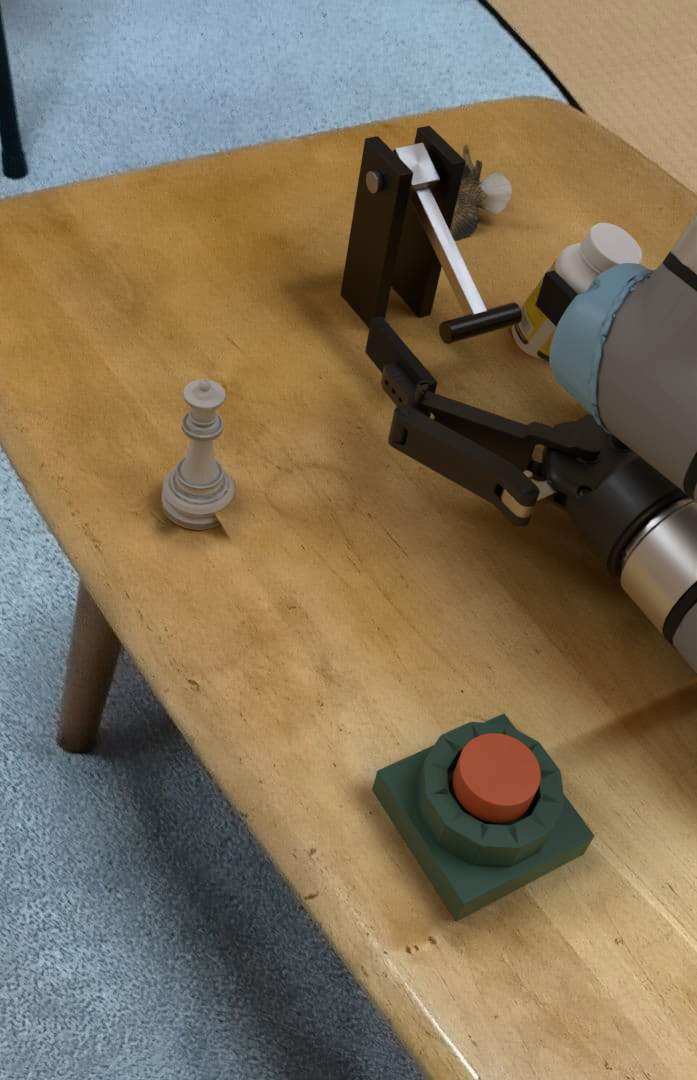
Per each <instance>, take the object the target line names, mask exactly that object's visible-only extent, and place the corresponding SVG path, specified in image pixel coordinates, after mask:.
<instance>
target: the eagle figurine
mask: <svg viewBox="0 0 697 1080" xmlns="http://www.w3.org/2000/svg"><path fill="white" fill-rule="evenodd" d="M470 153H471V151H470V148H469V146H468V144H467V143H466V144H464V145H463V147H462V158H463V159H464V160H465V161H466V163H465V168H464V172H463V176H462V181H461V185H460V189H459V194H458V198H457V203H456V207H455V211H454V216H453V220H452V224H451V229H450V232H451V234H452V237H453V239H454V241H455V242H457V241H460V240H462V239H463V238H464V237H465V238H467V237H471V236H472V234H473V233H475V230H476V229H478V225H479V221H478V218H479V215H478V213H479V211H480V210H479V209H482V210H484V211H485V212H487V213H488V214H490V215H493V216H498V215H500V214H502V213H503V212H504V210H505V209H506V207H508V205H509V204H510V203H511V201H512V196H513V193H514V190H513V186H512V184H511V182H510V181H509V179H508V178H507V177H506V176H505V175H504V174H502V173H500V172H497V171H495V172H491V174H489V175H487V176H486V177H485V178H484V179H483V180H481V175H482V169H483V162H482V161H481V160H479V159H476V160H475V165H474V164H473V161H472V158H471V154H470ZM480 180H481V181H480Z"/></svg>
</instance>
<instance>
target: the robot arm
mask: <svg viewBox="0 0 697 1080" xmlns="http://www.w3.org/2000/svg"><path fill="white" fill-rule="evenodd" d="M543 276H544V279H543V282H542V285H541V288H540V292H539V295H538V298H537V301H536V306H537V307H538V308H539V309H540V310H541V312H542V313H543V314H544V315H545V316H546V317H547V318H548V319H549V320H550V321H551V322H552V323H553V324H554V325H555V326H556V330H555V332H554V335H553V338H552V342H551V345H550V354H549V361H548V362H549V366H550V367H549V368H550V370H551V373H552V376H553V377H554V379H555V381H556V383H557V384H558V385H559V386H560V387H562V388H563V389H564V390H565V391H566V392H567V393H568V394H569V395H570V396H571V397H572V398H573V399H574V400H576V402H578V403H579V404H580V405H581V406H582V407H583V408H584V409H585V410H586V411H587V412H588V413H587V414H585V415H583V416H582V417H581V418H579V419H578V420H571V421H563V422H559V423H558V424H554V425H553V426H550V425H548V424H545V423H542V422H539V421H531V422H530V423H529V424H524V423H521V422H518V421H517V420H514V419H511V418H507V417H504V416H501V415H498V414H496V413H493V412H490V411H487V410H485V409H481V408H479V407H475V406H473V405H471V404H467V403H464V402H461V401H458V400H456V399H452V398H450V397H447V396H444V395H441V394H438V393H436V390H437V387H438V381H437V379H436V378H435V377H434V375H432V373H430V371H429V370H428V369H427V368H426V367H425V365H424V364H423V363H422V362H421V360H420V359H419V358H418V357H417V356H416V355H415V354H414V352H413V351H412V350H411V348H409V346H408V345H407V344H406V343H405V342H404V341H403V339H402V338H401V337H400V336H399V335H398V334H397V332H396V331H395V330H394V328H392V326H391V325H390V324H389V323H388V322H387V321H386V318H385V319H384V318H383V317H382V316H380V317H376V318H372V319H371V323H370V328H368V335H367V340H366V345H365V350H364V353H365V355H367V358H369V359H370V360H371V361H372V363H373V364H374V365H375V367H376V368H377V369H378V370H379V371H380V373H381V379H380V385H381V389H382V390H383V391H384V392H385V394H387V397H388V398H389V399H390V400H391V401H392V403H393V404H394V405H395V406H396V407H395V408H394V410H393V414H392V419H391V423H390V429H389V433H388V438H387V443H388V445H389V446H391V448H393V449H395V450H397V451H398V452H400V453H402V454H404V455H405V456H407V457H409V458H410V459H412V460H414V461H416V462H418V463H420V464H421V465H423V466H425V467H427V468H429V469H430V470H432V471H434V472H435V473H437V474H439V475H441V476H443V477H444V478H446V479H448V480H449V481H451V482H453V483H455V484H457V485H458V486H460V487H462V488H464V489H465V490H467V491H469V492H471V493H472V494H474V495H476V496H477V497H480V498H481V499H483V500H485V501H486V502H489V503H491V504H492V506H494V507H495V508H496V509H497V510H498V511H499V512H500V513H501V514H502V515H503V516H504V517H505V518H506V519H507V520H508V522H510V523H511V524H512V525H513V526H514V527H515V526H516V527H519V528H524V527H526V526H527V525H529V524H530V520H531V518H532V515H533V513H535V512H537V511H539V510H541V509H544V508H546V507H547V506H549V505H553V506H555V507H556V508H558V509H560V510H562V511H563V512H565V514H567V516H568V517H569V518H570V520H571V522H572V524H573V527H574V530H575V532H576V534H577V537H578V539H579V540H580V541H581V542H582V543H583V545H584V546H585V547H586V548H587V550H589V552H590V553H591V554H592V555H593V556H594V558H595V559H596V560H597V561H598V562H599V563H600V564H601V566H602V567H603V568H604V569H605V570H606V572H607V573H608V574H609V576H612V577H613V578H616V579H620V585H621V588H622V589H623V591H624V592H625V593H626V594H627V596H628V597H629V598H630V599H631V600H632V601H633V603H634V604H635V605H636V606H637V607H638V608H639V610H640V611H641V612H642V613H643V614H644V616H646V618H647V619H648V620H649V621H650V622H651V624H653V625H654V627H655V629H657V630H658V631H659V633H660V634H661V635H662V636H663V637H664V639H665V640H666V641H667V642H668V644H670V646H671V647H672V648H673V649H674V650H676V651H677V652H678V653H679V654H680V656H681V657H682V658H683V659H684V660H685V662H686V663H687V665H688V666H689V667H690V668H691V669H692V670H693V672H694V673H695V674H696V675H697V212H696V213H695V215H694V216H693V217H692V218H691V220H690V221H689V223H688V224H687V226H686V227H685V229H684V230H683V231H682V233H681V234H680V235H679V237H678V239H677V240H676V242H675V243H674V244H673V245H672V247H671V249H670V251H669V252H668V254H667V255H666V256H665V257H664V259H663V261H662V262H661V263H660V264H659V265H658V266H657V268H656V269H649V268H647V266H645V265H643V264H641V263H640V264H637V263H622V264H619V265H616V266H613V267H611V268H610V269H608V270H606V271H604V272H602V273H601V274H600V275H598V276H597V277H596V278H595V279H594V280H593V281H592V283H591V285H590V286H589V288H588V289H587V291H585V292H584V293H582V294H578V293H577V292H576V291H575V290H574V289H573V288H572V287H571V286H570V285H569V284H568V283H567V282H566V281H565V280H564V279H563V278H562V277H561V276H560V275H559V274H558V273H557V272H556V271H555V270H553V271H550V272H547V271H546V272H545V273H544V275H543ZM431 415H433V417H434V418H432V416H431ZM538 445H540V446H543V448H542V452H541V461H538V460H535V459H534V458H533V455H534V452H535V450H536V446H538Z"/></svg>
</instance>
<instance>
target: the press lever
mask: <svg viewBox="0 0 697 1080" xmlns="http://www.w3.org/2000/svg"><path fill="white" fill-rule="evenodd" d="M392 151H393V152H394V153H395V154H396V155H397V156H398V157H399V158H400V159H401V160H402V161H403V162H404V163H405V164H406V165H407V166H408V167H409V168H410V169H411V170H412V171H413V178H412V183H411V188H410V193H409V199H408V203H412V204H413V206H414V208H415V210H416V212H417V214H418V217H419V219H420V221H421V223H422V225H423V227H424V229H425V232H426V234H427V236H428V238H429V240H430V242H431V244H432V246H433V249H434V251H435V253H436V255H437V257H438V259H439V261H440V264H441V266H442V268H441V269H442V270H443V272H444V275H445V277H446V278H447V280H448V283H449V285H450V287H451V289H452V292H453V294H454V295H455V298H456V299H457V302H458V304H459V306H460V308H461V311H462V313H463V315H462V316H459V317H455V318H452V319H448V320H444V321H442V322H440V324H439V327H438V333H439V336H440V339H441V341H442V343H444V344H445V345H451V344H455V343H457V342H461V341H465V340H468V339H472V338H475V337H479V336H482V335H486V334H489V333H492V332H495V331H500V330H503V329H506V328H510V327H512V326H513V325H517V324H519V323H520V322H521V320H522V312H521V309H520V308H521V306H519V304H518V303H517V302H513V301H512V302H509V303H505V304H501V305H497V306H495V307H491V308H487V306H486V304H485V302H484V300H483V298H482V296H481V293H480V292H479V290H478V287H477V286H476V283H475V281H474V279H473V277H472V275H471V273H470V270H469V268H468V266H467V264H466V262H465V260H464V258H463V255H462V253H461V252H460V249H459V247H458V245H457V242H456V241H454V239H453V237H452V234H451V232H450V230H449V228H448V226H447V224H446V222H445V220H444V217H443V215H442V213H441V211H440V209H439V207H438V205H437V203H436V201H435V198H434V196H433V194H432V190H433V189H434V188H435V186H436V185H437V183H438V182H439V181H440V177H439V175H438V173H437V171H436V169H435V167H434V165H433V163H432V160H431V158H430V156H429V154H428V152H427V150H426V148H425V146H424V144H423V143H418V144H414V143H413V144H409V145H404V146H399V147H395V148H393V149H392Z"/></svg>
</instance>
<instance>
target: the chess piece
mask: <svg viewBox="0 0 697 1080" xmlns="http://www.w3.org/2000/svg"><path fill="white" fill-rule="evenodd" d="M182 398H183V400H184V402H185V404H187V406H189V407H190V410H189V411H188V412H186V413H185V414H184V415H183V417H182V419H181V431H182V433H183V434H184V435H185V436H186V437H187V438H189V446H188V449H187V453H186V456H184V457H182V459H180V460H179V461H178V463H177V464H176V466H175V467H173V468H172V469H170V470H169V471H168V473H167V474H166V475H165V477H164V479H163V482H162V490H161V507H162V510H163V513H164V514H165V516H166V517H167V518H168V520H170V521H171V522H173V523H174V524H175V525H177V526H180V527H182V528H185V529H190V530H197V531H200V530H201V531H203V530H208V529H213V528H215V527H218V526H221V525H222V523H221V521H220V520H219V518H218V517H217V514H216V513H219V512H221V511H223V510H224V509H226V508H227V507H228V506H229V505H230V503H231V502H232V501H233V499H234V496H235V484H234V481H233V479H232V477H231V475H229V473H228V472H227V471H226V470H225V469H224V468H223V465H222V464H221V463H220V461H219V460H218V459H217V458H216V457H215V452H214V451H215V450H214V440H217V438H219V437H220V436H221V435H222V434H223V431H224V420H223V418H222V416H221V415H220V414H219V413H217V412H216V410H217V409H219V408H220V407H221V406H222V405H223V404H224V403H225V402H226V398H227V397H226V391H225V389H224V387H223V385H221V384H220V383H219V382H217V381H215V380H212V379H206V378H200V379H195V380H191V381H190V382H188V383H187V384H186V385H185V387H184V389H183V391H182Z"/></svg>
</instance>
